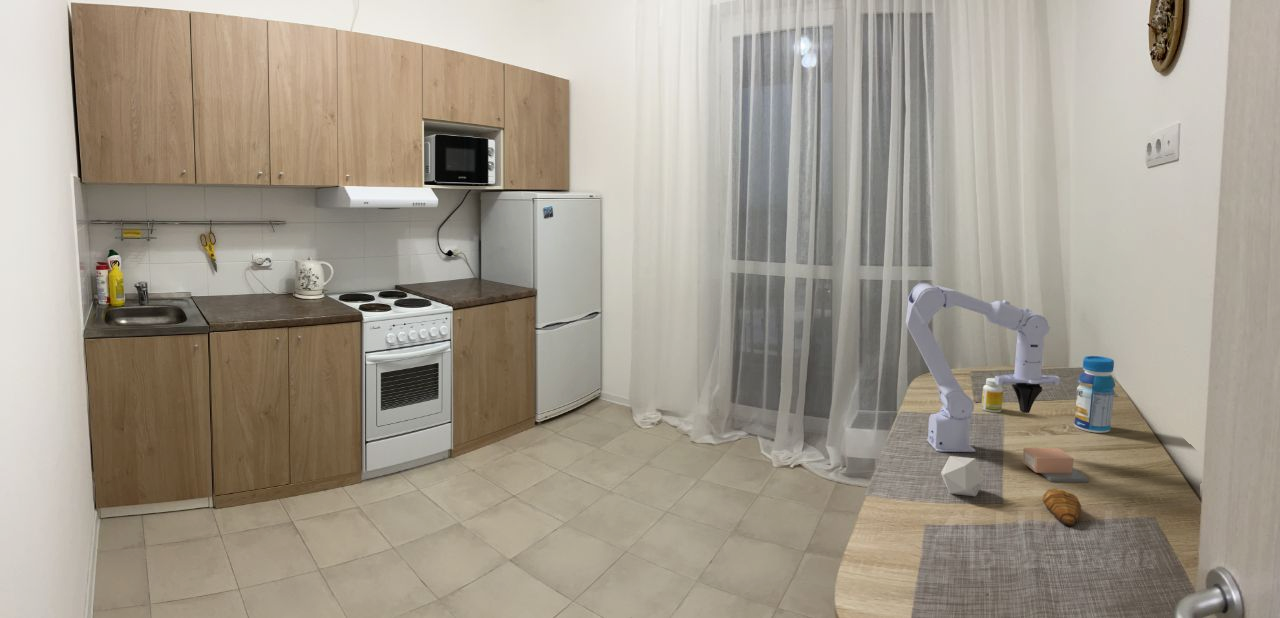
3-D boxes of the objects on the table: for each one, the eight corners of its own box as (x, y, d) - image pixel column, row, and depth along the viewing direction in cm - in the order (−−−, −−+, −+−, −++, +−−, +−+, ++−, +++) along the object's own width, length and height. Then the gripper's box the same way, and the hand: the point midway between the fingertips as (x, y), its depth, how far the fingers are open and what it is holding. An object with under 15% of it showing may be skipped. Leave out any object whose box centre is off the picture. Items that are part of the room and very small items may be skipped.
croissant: (1090, 531, 120) (1092, 508, 120) (1049, 526, 123) (1051, 503, 122) (1070, 500, 133) (1072, 478, 132) (1034, 495, 135) (1036, 474, 134)
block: (1037, 458, 143) (1073, 458, 142) (1023, 447, 149) (1058, 448, 148) (1036, 472, 144) (1072, 472, 143) (1022, 461, 149) (1057, 462, 149)
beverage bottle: (1106, 436, 165) (1114, 364, 162) (1069, 428, 171) (1075, 359, 168) (1114, 428, 171) (1121, 358, 167) (1078, 420, 177) (1084, 353, 173)
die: (971, 508, 131) (998, 471, 131) (934, 482, 135) (959, 446, 134) (965, 504, 139) (990, 469, 139) (929, 479, 142) (954, 446, 142)
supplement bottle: (977, 408, 190) (979, 378, 188) (992, 406, 191) (994, 376, 189) (990, 413, 185) (992, 382, 183) (1005, 411, 186) (1008, 381, 184)
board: (1050, 481, 141) (1050, 478, 141) (1023, 459, 153) (1024, 456, 152) (1087, 482, 140) (1088, 478, 140) (1058, 460, 152) (1058, 457, 151)
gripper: (1005, 364, 151) (1001, 416, 153) (1068, 363, 149) (1064, 417, 152) (992, 356, 158) (989, 407, 160) (1052, 356, 156) (1048, 407, 159)
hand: (1024, 411), depth 156 cm, fingers closed
